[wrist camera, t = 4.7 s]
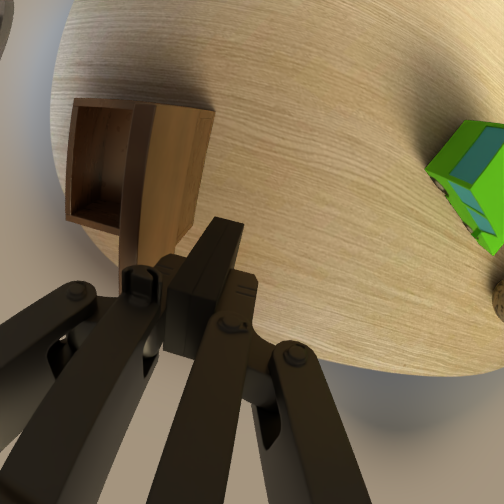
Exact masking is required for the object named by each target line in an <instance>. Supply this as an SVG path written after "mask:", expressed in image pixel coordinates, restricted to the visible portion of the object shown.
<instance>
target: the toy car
mask: <svg viewBox="0 0 504 504" xmlns="http://www.w3.org/2000/svg"><path fill="white" fill-rule="evenodd" d="M424 170H425V171H426V172H427V173H428V175H429V176H430V178H431V179H432V181H433V182H434V183H435V185H436V186H437V187H438V188H439V189H440V190H441V191H442V192H443V193H445V194H446V195H445V197H446V198H447V199H448V201H449V202H450V204H451V205H452V206H453V208H454V209H455V211H456V212H457V213H458V215H459V216H460V218H461V219H462V221H463V224H464V225H465V227H466V228H467V229H468V231H469V232H470V233H471V235H472V236H473V237H474V238H475V239H476V240H477V242H478V243H479V245H481V246H482V247H483V248H484V249H486V250H487V251H488V252H489V253H490V254H491V255H493V256H494V255H495V254H496V252H497V251H498V250H499V249H500V248H501V246H502V245H503V244H504V124H500V123H492V122H483V121H472V120H464V122H463V123H462V124H461V126H460V127H459V128H458V129H457V131H456V132H455V133H454V134H453V136H452V137H451V138H450V139H449V141H448V142H447V143H446V144H445V145H444V147H443V148H442V149H441V150H440V151H439V153H438V154H437V155H436V156H435V157H434V159H433V160H432V161H431V162H430V163H429V164H428V166H427V167H426V168H425V169H424Z"/></svg>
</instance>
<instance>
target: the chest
mask: <svg viewBox="0 0 504 504" xmlns="http://www.w3.org/2000/svg"><path fill="white" fill-rule="evenodd" d="M135 103H150V104H162V103H153V102H143V101H132V100H119V99H101V98H74V103H73V109H72V115H71V123H70V131H69V140H68V151H67V165H66V189H65V213H66V221H70V222H74V223H77V224H80V225H83V226H87V227H90V228H94V229H97V230H100V231H104V232H107V233H111V234H114V235H118V236H119V232H120V213H121V199H122V188H123V178H124V169H125V160H126V153H127V146H128V139H129V132H130V126H131V120H132V115H133V109H134V104H135ZM162 105H170V104H162ZM172 106H177V105H172ZM180 107H184V106H180ZM189 108H191V107H189ZM195 109H197V108H195ZM214 116H215V112H214V111H209V110H203V109H199V115H198V119H197V124H196V129H195V133H194V138H193V143H192V148H191V153H190V158H189V163H188V169H187V174H186V180H185V186H184V191H183V198H182V204H181V210H180V217H179V223H178V230H177V237H176V245H177V243H178V242H179V241H180V240H181V239H182V237H183V236H184V235H185V234H186V233H187V231H188V230H189V229H190V228H191V227H192V226H193V221H194V215H195V209H196V204H197V198H198V193H199V188H200V182H201V177H202V172H203V167H204V162H205V157H206V153H207V148H208V143H209V139H210V134H211V130H212V125H213V121H214ZM176 245H175V246H176Z"/></svg>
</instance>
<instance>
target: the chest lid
mask: <svg viewBox="0 0 504 504" xmlns="http://www.w3.org/2000/svg"><path fill="white" fill-rule="evenodd" d="M198 115H199V109H195V108H189V107H180V106H172V105H162V104H150V103H135V104H134V109H133V115H132V120H131V126H130V132H129V139H128V146H127V153H126V160H125V169H124V178H123V188H122V199H121V213H120V232H119V296H120V294H121V293H122V270H123V269H124V268H126V267H128V266H132V265H147V266H151V267H154V266H155V265H156V263H157V262H158V261H159V260H160V258H161V257H163V256H166V255H168V254H170V253H171V254H174V253H175V245H176V237H177V230H178V223H179V217H180V210H181V204H182V198H183V191H184V186H185V180H186V174H187V169H188V163H189V158H190V153H191V148H192V143H193V138H194V133H195V129H196V124H197V119H198Z"/></svg>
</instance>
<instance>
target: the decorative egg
mask: <svg viewBox="0 0 504 504" xmlns="http://www.w3.org/2000/svg"><path fill="white" fill-rule="evenodd" d="M492 304H493V308H494V311H495V313H496V314H497V316H498V317H499V318H500V319H501V320H502V321H503V322H504V280H502V281H500V282H499V283H498V284H497V285H496V287H495V289H494V291H493V295H492Z"/></svg>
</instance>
